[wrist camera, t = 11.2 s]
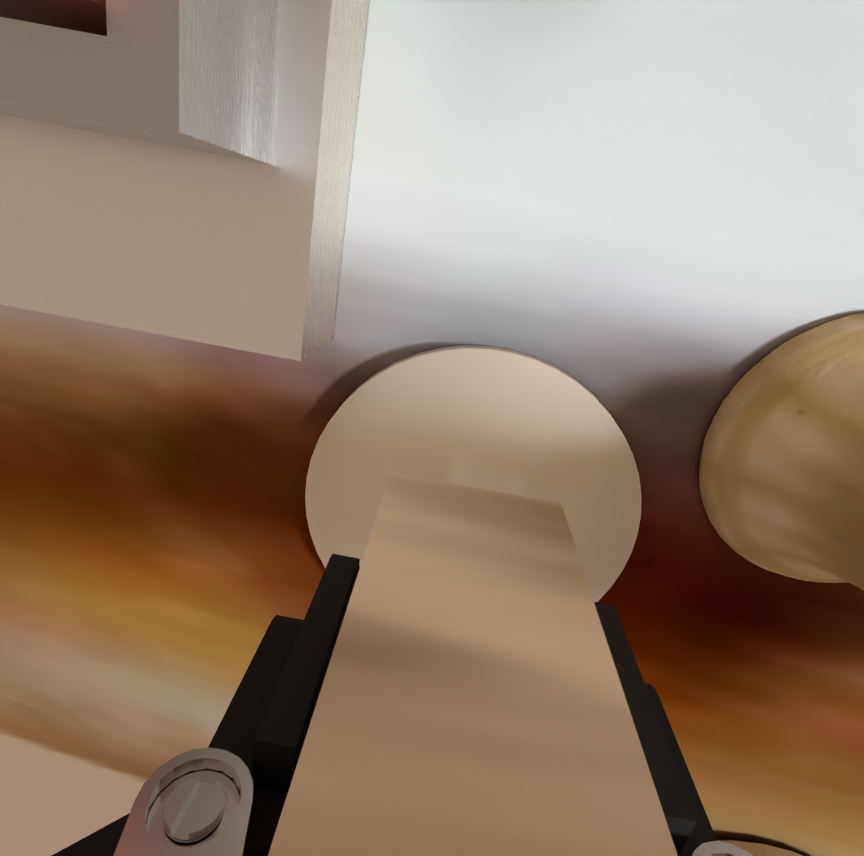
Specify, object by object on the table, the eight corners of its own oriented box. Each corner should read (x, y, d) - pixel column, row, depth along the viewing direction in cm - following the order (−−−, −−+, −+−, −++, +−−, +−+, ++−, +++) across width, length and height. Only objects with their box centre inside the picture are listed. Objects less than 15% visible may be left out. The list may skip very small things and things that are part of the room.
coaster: (641, 617, 17) (648, 634, 17) (352, 643, 19) (347, 660, 18) (624, 317, 14) (633, 322, 13) (275, 374, 15) (265, 381, 15)
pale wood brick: (521, 637, 14) (634, 1549, 4) (368, 608, 13) (145, 1461, 4) (561, 503, 12) (875, 1456, 3) (390, 472, 12) (121, 1312, 3)
